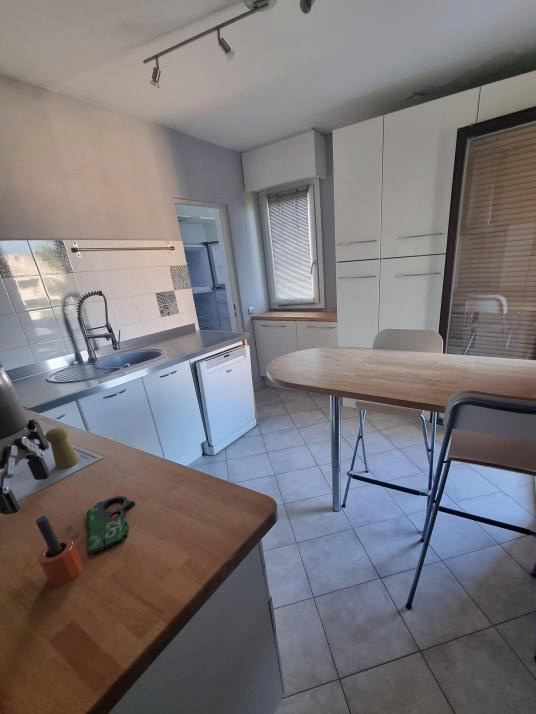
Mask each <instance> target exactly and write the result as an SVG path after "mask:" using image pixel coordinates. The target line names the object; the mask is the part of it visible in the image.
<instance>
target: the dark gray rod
mask: <svg viewBox="0 0 536 714" xmlns="http://www.w3.org/2000/svg"><path fill="white" fill-rule="evenodd" d="M35 524H36V525H37V527H38V529H39V531H40V534H41V535H42V537H43V540H44V542H45V544H46V546H48V548H49V550H50V552H51V554H52V556H53V557H55V556H57V555H59V554H60V553H62V552H63V549H62V547H61V545H60V543H59V541H58V540H59V539H58V537H57V534H56V532H55V530H54V528H53V526H52V524H51V522H50V520H49V518H48V516H47V515H42V516H40V517H38V518H37V519H36V520H35Z"/></svg>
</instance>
